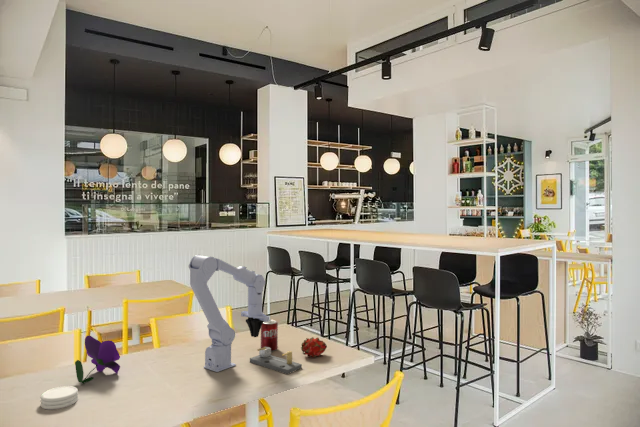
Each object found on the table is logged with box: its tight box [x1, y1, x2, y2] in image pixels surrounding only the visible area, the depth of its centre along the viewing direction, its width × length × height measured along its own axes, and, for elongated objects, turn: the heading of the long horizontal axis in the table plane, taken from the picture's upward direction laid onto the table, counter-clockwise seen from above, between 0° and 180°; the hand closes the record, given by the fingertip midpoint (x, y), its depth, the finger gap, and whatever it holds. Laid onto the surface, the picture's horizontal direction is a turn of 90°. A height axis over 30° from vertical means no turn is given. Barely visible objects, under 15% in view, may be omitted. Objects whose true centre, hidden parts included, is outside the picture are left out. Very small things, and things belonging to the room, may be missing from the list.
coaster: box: [39, 385, 79, 411], centre depth 136 cm, size 10×10×4 cm
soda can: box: [260, 319, 279, 353], centre depth 189 cm, size 7×7×12 cm
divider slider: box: [257, 347, 272, 358], centre depth 175 cm, size 6×3×4 cm, turn 142°
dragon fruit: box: [300, 336, 328, 358], centre depth 182 cm, size 8×8×12 cm
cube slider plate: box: [249, 350, 303, 375], centre depth 171 cm, size 8×20×6 cm, turn 52°
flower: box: [74, 335, 121, 385], centre depth 155 cm, size 15×15×14 cm
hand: (254, 336), depth 180 cm, fingers closed
